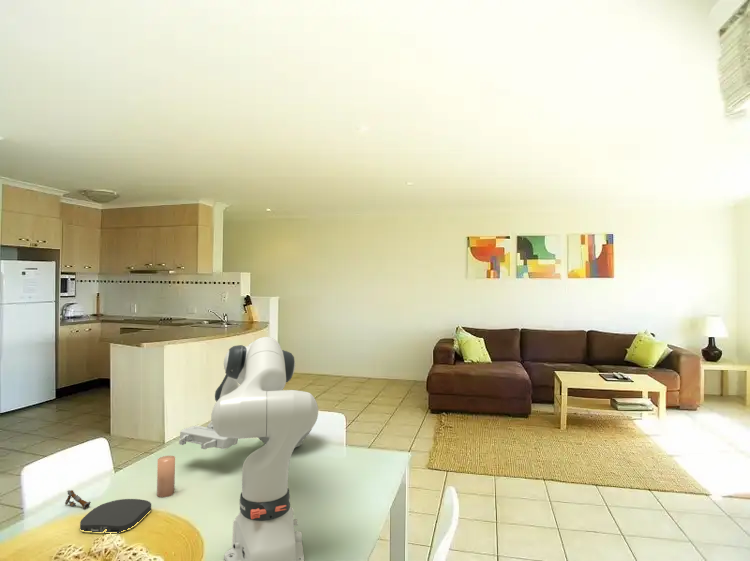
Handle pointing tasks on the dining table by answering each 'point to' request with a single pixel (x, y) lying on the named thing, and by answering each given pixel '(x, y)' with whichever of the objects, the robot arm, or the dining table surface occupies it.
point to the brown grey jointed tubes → (76, 498)
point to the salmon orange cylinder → (166, 476)
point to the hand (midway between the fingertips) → (191, 444)
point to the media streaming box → (115, 515)
